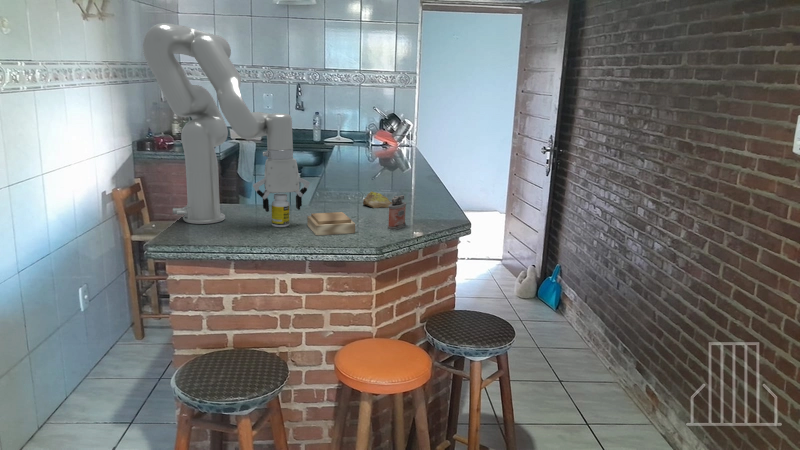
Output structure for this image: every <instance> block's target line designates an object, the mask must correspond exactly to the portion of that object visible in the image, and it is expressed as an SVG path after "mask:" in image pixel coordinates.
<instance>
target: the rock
mask: <svg viewBox="0 0 800 450" xmlns="http://www.w3.org/2000/svg"><path fill="white" fill-rule="evenodd" d="M390 204H392V201H390V200H389V198H388V197H386V196H384V195H383V194H382V193H380V192H377V191H376V192H375V191H370V192H368V193H367V194H366V197H365V198H363V201H362V205H364V206H368V207H370V208H372V209H380V208H383V209H384V208H385V209H389V208H388V206H389V205H390Z"/></svg>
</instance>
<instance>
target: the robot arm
mask: <svg viewBox="0 0 800 450" xmlns="http://www.w3.org/2000/svg"><path fill="white" fill-rule="evenodd" d="M231 49H232V47H231V45H230V44H229V42H228V40H226V39H225V38H224V37H222V36H220V35H217V34H214V33H210V32H206V31H202V30H199V29H195V28H192V27H189V26H185V25H180V24H175V23H174V24H173V23H168V22H167V23H166V22H163V23H162V22H161V23H157V24H155V25H152V26H151V27H150V28H149V29H148V30H147V32H146V33H145V35H144V38H143V43H142V50H143V51H142V52H143V55H144V59H145V61H146V63H147V65H148V68H149V69H150V71H151V72H152V74H153V76H154V79H156V81H157V84H158V87H159V88H160V90H161V92H162V94H163V95H164V98H165V99H166V102H167V104H168V106H169V107H170V109H171V111H172V113H174V115H176V116H177V117H180V118H191V120H189V121H187V123H185V124H184V126H183V128H182V130H181V136H180V139H181V144H182V148H183V153H184V161H185V174H186V175H185V177H186V178H185V179H186V196H187V197H186V198H187V199H186V200H187V204H186V206H183V207H172V215H177V216H182V215H183V217H182V219H183V221H184V222H186V223H189V224H192V225H193V224H196V225H205V224H206V225H208V224H215V223H220V222H222V221H224V220H225V219H226V215H225V214H224V213H222V212H221V210H220V209H221V208H220V186H219V185H220V183H219V182H220V181H219V180H220V179H219V163H218V157H217V153H216V150H215V148H216V147H219V146H221V145H223V144H224V143H225V142H226V141H227V139H228V135H229V130H228V126H227V123H226V122H228V124H229V125H230V127H231V129H232V130H233V131H234V132H235V134H236V135H237V136H239V137H240V138H242V139H244V140H253V139H256V138H262V137H266V142H267V145H266V146H267V149H266V151H262V157H267V159H265V164H264V178H262V179H260V180H258V181H257V182H255V183H253V184H252V187H253V189H254V190H255V192H256V194H257V195H258V196H259V197H260V198H262V208H263V210H265V212H266V213H268V212H269V211H270V207H269V206H270V205H269V196H270V194H278V193H283V194H286V193H295V194H296V195H295V208H296V209H297V210H298V211H299V210H301V207H303V206H302V205H303V204H302V203H303V200H302V199H303V198H302V197H303V196H304V195H305V193H307V191H308V189H309V186H310V184H311V182H310V181H309V180H306V179H304V178H302V177H300V175H299V169H298V162H297V159H296V158H294V146H293V145H294V144H293V142H294V141H293V120H292V119H293V118H292V116H291V115H290V114H289V113H283V112H276V113H274V112H273V113H267V112H261V111H255V112H254V111H253V112H252V111H251V110H250V109H249V107H248V106H247V104H246V103H245V101H244V99H243V96H242V94H241V84H242V83H241V82H242V76H241V75H240V72H239V71H238V70H237V68H236V67H235V65H234V64H233V62H232V60H231V59H230V58H231V54H232V50H231ZM175 55H185V56H188V57H192V58H194V59H195V60H196V62H197V64H198V65H199V67H200V69H201V70H202V71H203V73H204V75H205V76H206V77H207V79H208V81H209V82H210V84H211V85H212V87H213V89H214V90H215V92H216V97H217V98H216V99H217V101H218V104H219V106H220V109H219V107H218V105H217V103H216V102H215V99H214V98H213V97H214V96H212V94H211V93H210V91H209V90H207V88H205V87H203V86H201V85H198V84H192V83H191V82H190V79H189V78H188V76H187V74H186V71H185V69H184V67H182V65H181V64H180V63H179V61H178V60H177V59H176V57H175ZM220 110H221V112H220ZM222 114H223V116H224V117H223V116H222ZM225 119H226V121H225ZM300 184H303V187H302V188H301V189H300ZM263 185H264V189H265V190H264V191H263V192H262V190H260V187H261V186H263Z"/></svg>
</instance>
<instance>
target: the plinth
mask: <svg viewBox="0 0 800 450" xmlns="http://www.w3.org/2000/svg"><path fill="white" fill-rule="evenodd" d="M306 219H307V223H306V225H307V226H308V228H309V229H310V230H311V232H312V233H313V234H314V235H315V236H328V235H329V236H330V235H332V236H333V235H343V234H345V235H347V234H355V233H356V223H355V222H354V221H353V219H352V218H350V217H349V216H347V214H345V213H344V212H342V211H338V212H337V211H336V212H335V211H333V212H318V213H317V212H315V213H311V214H310V215H307V218H306Z"/></svg>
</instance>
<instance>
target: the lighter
mask: <svg viewBox="0 0 800 450" xmlns="http://www.w3.org/2000/svg"><path fill="white" fill-rule="evenodd" d="M403 200H405V195H403V194H402V195H401V194H400V195H398V196H397V195H395V196H394V197H393V198H391V202H392V204H390V205H389V206H388V208H387V209H388V225H387V229H388V230H389V229H390V230H391V231H395V229H396V230H398V229H402V228H405V227H406V206H407V202H405V201H403ZM390 230H389V231H390Z"/></svg>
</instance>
